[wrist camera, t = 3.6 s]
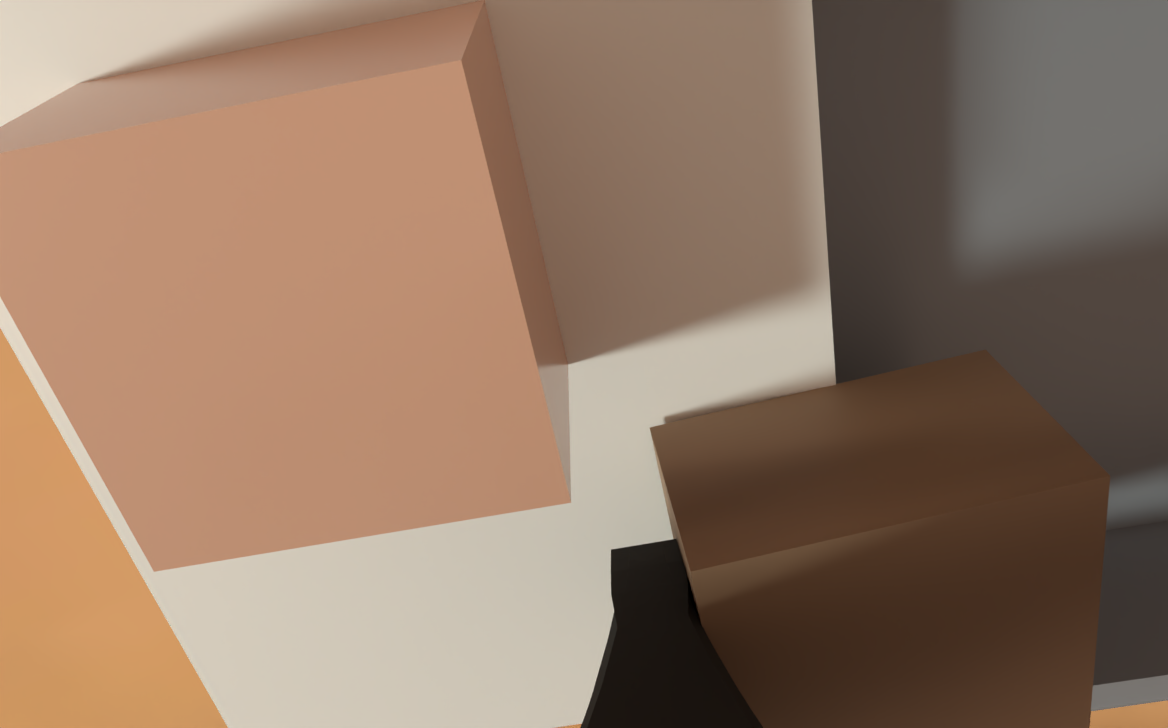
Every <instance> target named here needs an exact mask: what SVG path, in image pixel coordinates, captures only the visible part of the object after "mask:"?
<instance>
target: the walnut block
mask: <svg viewBox="0 0 1168 728" xmlns="http://www.w3.org/2000/svg"><path fill="white" fill-rule="evenodd" d="M650 432H651V437H652V441H653V446H654V451H655V455H656V460H657V465H658V469H659V474H660V479H661V483H662V488H663V493H664V497H665V502H666V507H667V511H668V516H669V521H670V525H671V530H672V535H673V539H676V540H677V543H678V546H679V549H680V553H681V556H682V559H683V562H684V565H685V569H686V574H687V580H688V585H689V590H690V595H691V601H692V605H693V607H694V609H695V612H696V614H697V616H698V618H699V620H700V622H701V625H702V627H703V628H704V630H705V632H706V634H707V636H708V638H709V639H710V641H711V643H712V645H713V647H714V648H715V650H716V652H717V654H718V655H719V657H720V659H721V660H722V662H723V664H724V666H725V667H726V669H727V671H728V673H729V674H730V676H731V678H732V679H733V681H734V683H735V685H736V686H737V688H738V689H739V691H740V693H741V694H742V696H743V697H744V699H745V700H746V702H747V704H748V705H749V707H750V708H751V710H752V711H753V713H754V714H755V716H756V717H757V719H758V720H759V722H760V723H761V725H762V726H763V728H1089V726H1090V714H1091V702H1092V690H1093V678H1094V666H1095V654H1096V642H1097V630H1098V618H1099V606H1100V594H1101V582H1102V570H1103V558H1104V546H1105V534H1106V522H1107V510H1108V498H1109V486H1110V475H1109V474H1108V473H1107V472H1106V471H1105V470H1104V469H1103V468H1102V467H1101V466H1100V465H1099V464H1098V463H1097V462H1096V461H1095V460H1094V459H1093V458H1092V457H1091V456H1090V455H1089V454H1088V453H1087V452H1086V451H1085V450H1084V449H1083V448H1082V447H1081V446H1080V445H1079V444H1078V443H1077V442H1076V441H1075V439H1074V438H1073V437H1072V436H1071V435H1070V434H1069V433H1068V432H1067V431H1066V430H1065V429H1064V428H1063V427H1062V426H1061V425H1060V424H1059V423H1058V422H1057V421H1056V420H1055V419H1054V418H1053V417H1052V416H1051V415H1050V414H1049V413H1048V412H1047V411H1046V410H1045V409H1044V408H1043V407H1042V406H1041V405H1040V404H1039V403H1038V402H1037V401H1036V400H1035V399H1034V398H1033V397H1032V396H1031V395H1030V394H1029V393H1028V392H1027V391H1026V390H1025V389H1024V388H1023V387H1022V386H1021V385H1020V384H1019V383H1018V382H1017V381H1016V380H1015V379H1014V378H1013V377H1012V376H1011V375H1010V374H1009V373H1008V372H1007V371H1006V370H1005V369H1004V368H1003V367H1002V366H1001V365H1000V364H999V363H998V362H997V361H996V360H995V359H994V358H993V357H992V356H991V355H990V354H989V353H988V352H987V351H986V350H981V351H977V352H973V353H969V354H964V355H960V356H956V357H951V358H947V359H943V360H938V361H934V362H930V363H925V364H921V365H917V366H913V367H908V368H904V369H900V370H895V371H891V372H887V373H882V374H878V375H874V376H869V377H865V378H861V379H856V380H852V381H848V382H844V383H839V384H836V385H833V386H827V387H822V388H818V389H813V390H809V391H805V392H800V393H796V394H792V395H788V396H783V397H779V398H775V399H770V400H766V401H762V402H757V403H753V404H749V405H744V406H740V407H736V408H732V409H727V410H723V411H719V412H714V413H710V414H706V415H701V416H697V417H693V418H688V419H684V420H680V421H676V422H671V423H667V424H663V425H658V426H654V427H650Z"/></svg>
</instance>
